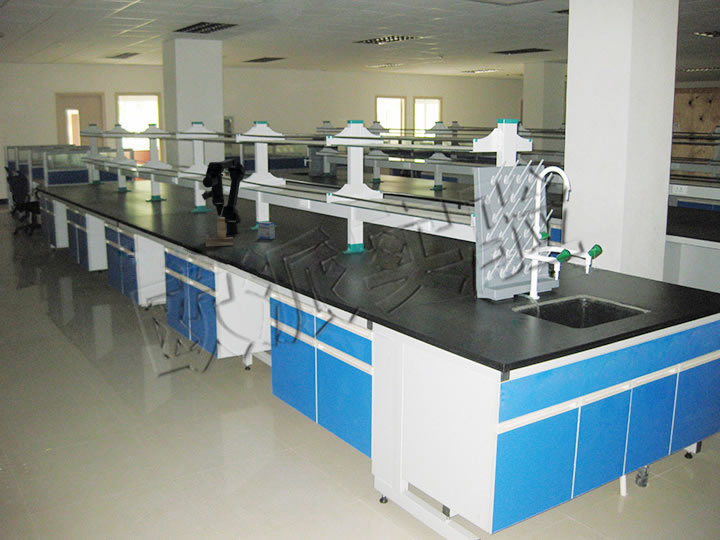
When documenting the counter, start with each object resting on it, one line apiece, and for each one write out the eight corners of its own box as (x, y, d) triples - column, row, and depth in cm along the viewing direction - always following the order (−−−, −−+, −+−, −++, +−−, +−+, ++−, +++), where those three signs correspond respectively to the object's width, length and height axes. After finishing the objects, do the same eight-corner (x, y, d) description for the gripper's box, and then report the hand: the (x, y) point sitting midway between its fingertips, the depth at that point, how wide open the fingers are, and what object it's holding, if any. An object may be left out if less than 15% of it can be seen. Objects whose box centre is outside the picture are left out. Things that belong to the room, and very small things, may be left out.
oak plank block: (218, 240, 362) (216, 217, 359) (226, 240, 362) (224, 217, 360) (218, 241, 358) (216, 218, 355) (226, 241, 359) (224, 218, 356)
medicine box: (258, 238, 373) (257, 222, 371) (263, 237, 376) (262, 221, 374) (270, 239, 369) (269, 223, 367) (275, 238, 373) (274, 222, 371)
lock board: (206, 241, 367) (205, 235, 366) (232, 240, 370) (232, 233, 369) (205, 246, 354) (205, 239, 353) (233, 244, 356) (233, 238, 356)
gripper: (202, 184, 377) (204, 213, 381) (201, 188, 359) (203, 217, 363) (222, 183, 379) (224, 211, 383) (223, 187, 361) (225, 216, 365)
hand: (219, 214), depth 373 cm, fingers open, 9 cm apart
